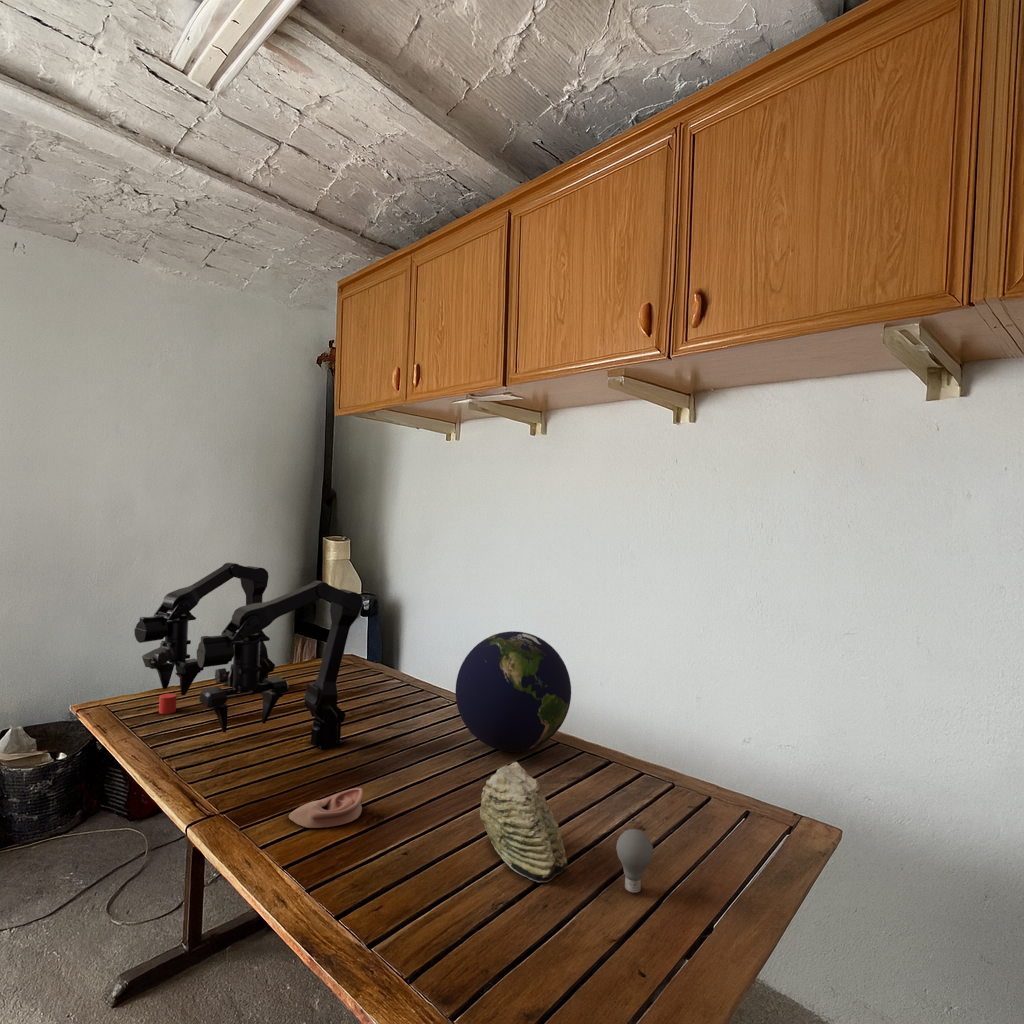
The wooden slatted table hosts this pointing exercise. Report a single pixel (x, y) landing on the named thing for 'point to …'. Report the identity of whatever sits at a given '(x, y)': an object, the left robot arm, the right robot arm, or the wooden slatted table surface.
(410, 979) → the wooden slatted table surface
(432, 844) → the wooden slatted table surface
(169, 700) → the canister
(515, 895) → the wooden slatted table surface
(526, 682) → the globe
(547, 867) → the fossil
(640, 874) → the light bulb
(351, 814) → the anatomical model
